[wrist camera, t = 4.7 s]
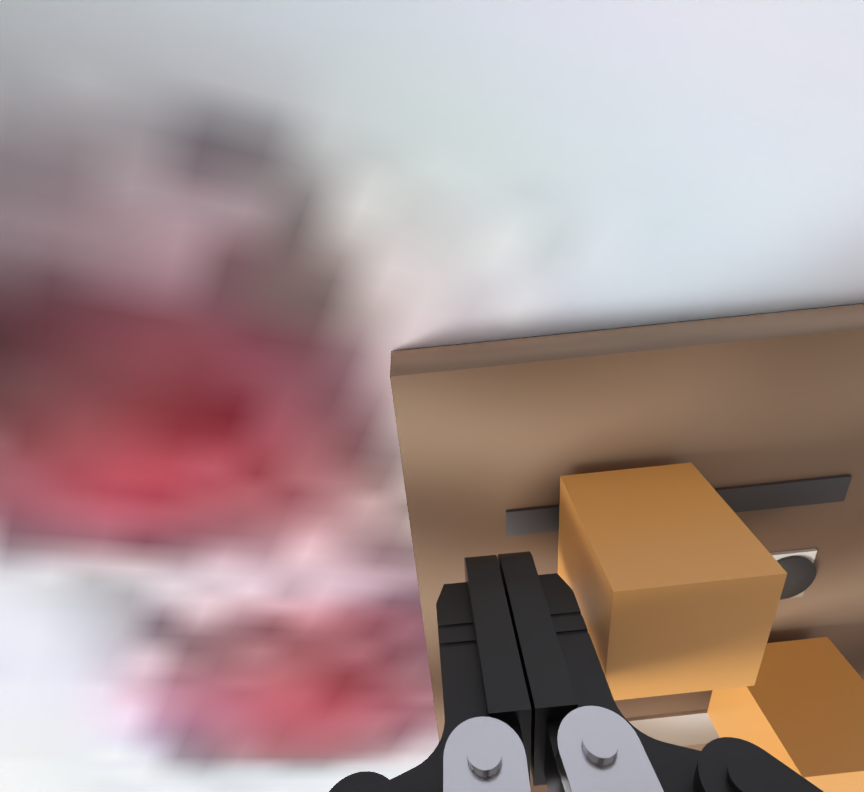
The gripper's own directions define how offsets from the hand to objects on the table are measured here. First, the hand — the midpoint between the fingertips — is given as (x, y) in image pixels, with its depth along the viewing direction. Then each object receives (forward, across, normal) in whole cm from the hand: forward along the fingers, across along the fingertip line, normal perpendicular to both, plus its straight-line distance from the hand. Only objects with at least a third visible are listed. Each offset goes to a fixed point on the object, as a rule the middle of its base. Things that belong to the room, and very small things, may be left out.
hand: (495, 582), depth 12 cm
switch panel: (+4, -6, +7) cm, 10 cm away
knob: (+2, -4, 0) cm, 4 cm away
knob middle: (+2, -9, +7) cm, 11 cm away
